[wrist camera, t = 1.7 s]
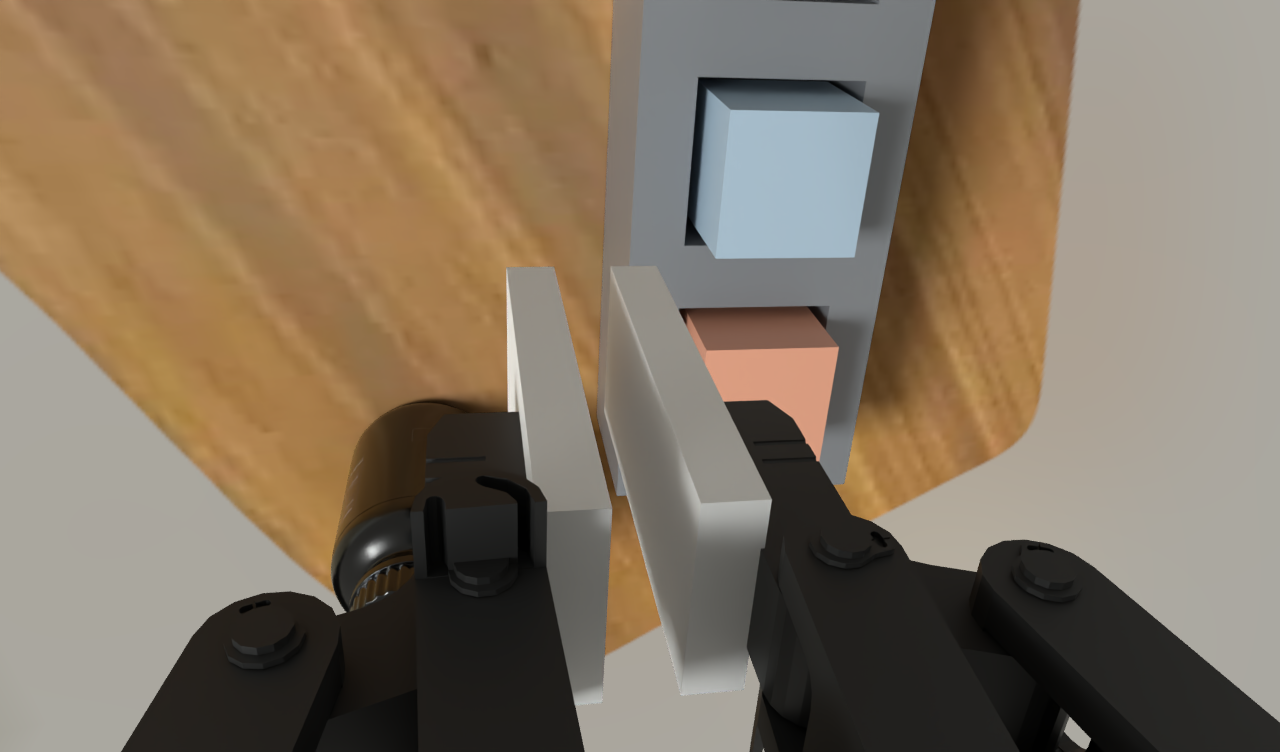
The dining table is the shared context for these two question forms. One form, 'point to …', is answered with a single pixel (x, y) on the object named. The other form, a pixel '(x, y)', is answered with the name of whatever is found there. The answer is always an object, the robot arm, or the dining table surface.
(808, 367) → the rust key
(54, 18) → the dining table surface
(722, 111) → the blue key
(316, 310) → the dining table surface
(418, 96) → the dining table surface
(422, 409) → the supplement bottle
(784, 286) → the console
